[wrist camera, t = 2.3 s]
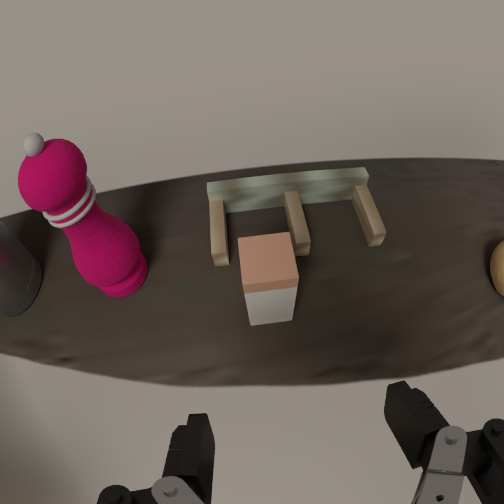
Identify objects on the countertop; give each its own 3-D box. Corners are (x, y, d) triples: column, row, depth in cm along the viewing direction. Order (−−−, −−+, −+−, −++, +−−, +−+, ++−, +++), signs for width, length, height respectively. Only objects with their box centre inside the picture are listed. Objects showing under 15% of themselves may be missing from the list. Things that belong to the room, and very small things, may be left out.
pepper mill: (87, 270, 34) (-10, 147, 17) (134, 236, 36) (61, 96, 19) (111, 315, 31) (-9, 190, 14) (163, 276, 33) (80, 124, 16)
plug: (250, 325, 30) (242, 284, 22) (246, 288, 32) (237, 238, 24) (291, 320, 30) (298, 277, 22) (285, 283, 32) (289, 231, 24)
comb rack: (215, 266, 33) (208, 245, 30) (212, 205, 38) (206, 182, 35) (380, 245, 34) (390, 224, 30) (358, 189, 38) (364, 167, 35)
